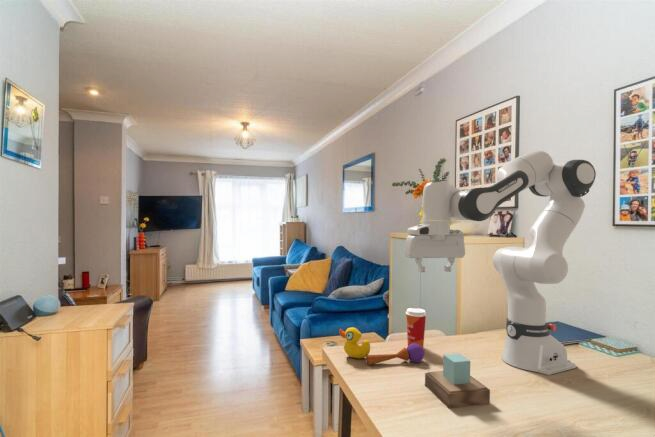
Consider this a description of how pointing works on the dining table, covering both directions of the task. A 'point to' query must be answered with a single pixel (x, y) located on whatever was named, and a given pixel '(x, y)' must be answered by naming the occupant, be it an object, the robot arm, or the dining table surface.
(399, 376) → the dining table surface
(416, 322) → the paper cup
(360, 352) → the duckling
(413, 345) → the kendama
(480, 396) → the walnut base
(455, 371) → the teal block
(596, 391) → the dining table surface
